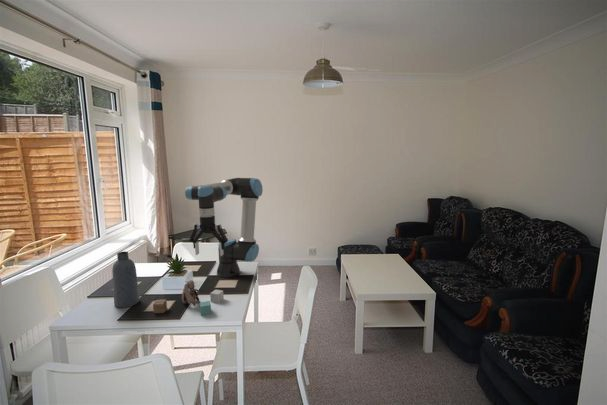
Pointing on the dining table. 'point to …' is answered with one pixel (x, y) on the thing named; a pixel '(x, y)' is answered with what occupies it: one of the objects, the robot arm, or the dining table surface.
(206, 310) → the teal cube
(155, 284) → the dining table surface
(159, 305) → the walnut cube
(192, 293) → the toy
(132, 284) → the vase
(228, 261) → the robot arm
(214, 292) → the grey cube
